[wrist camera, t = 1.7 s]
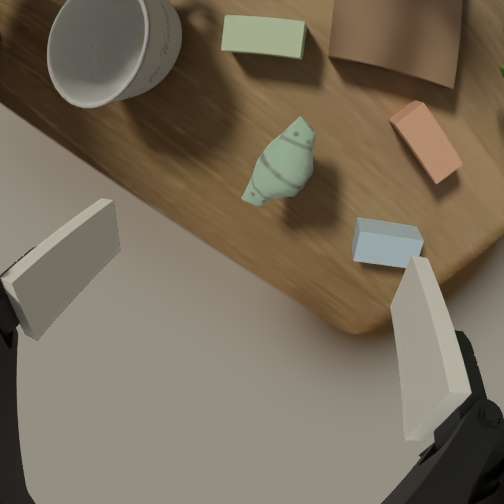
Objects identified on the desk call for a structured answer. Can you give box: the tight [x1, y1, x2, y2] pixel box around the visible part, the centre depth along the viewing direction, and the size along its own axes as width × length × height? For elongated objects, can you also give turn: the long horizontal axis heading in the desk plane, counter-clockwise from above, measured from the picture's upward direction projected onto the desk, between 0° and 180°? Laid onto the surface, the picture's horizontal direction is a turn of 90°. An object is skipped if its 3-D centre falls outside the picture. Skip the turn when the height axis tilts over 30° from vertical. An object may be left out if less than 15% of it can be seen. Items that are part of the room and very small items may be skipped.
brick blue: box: [352, 217, 424, 268], centre depth 28 cm, size 6×3×3 cm, turn 88°
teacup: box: [47, 0, 182, 109], centre depth 19 cm, size 14×11×8 cm
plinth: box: [328, 0, 463, 89], centre depth 17 cm, size 10×12×2 cm
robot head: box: [241, 116, 316, 207], centre depth 24 cm, size 8×4×7 cm, turn 147°
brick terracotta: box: [388, 100, 463, 184], centre depth 22 cm, size 6×3×3 cm, turn 45°
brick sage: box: [221, 15, 307, 60], centre depth 21 cm, size 6×3×3 cm, turn 83°
